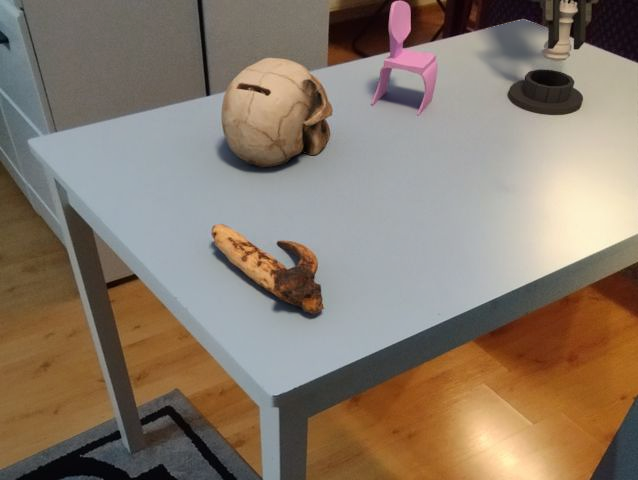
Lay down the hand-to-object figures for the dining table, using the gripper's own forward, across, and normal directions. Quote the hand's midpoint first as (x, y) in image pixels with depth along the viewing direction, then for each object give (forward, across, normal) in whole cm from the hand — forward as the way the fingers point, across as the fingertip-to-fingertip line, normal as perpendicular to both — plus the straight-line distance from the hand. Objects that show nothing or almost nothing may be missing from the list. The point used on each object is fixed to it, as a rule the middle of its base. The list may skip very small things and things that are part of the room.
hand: (566, 44), depth 104 cm
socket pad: (+4, 0, -10) cm, 11 cm away
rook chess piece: (0, 0, -5) cm, 5 cm away
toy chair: (+7, +24, -8) cm, 26 cm away
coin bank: (+18, +43, +3) cm, 47 cm away
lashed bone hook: (+40, +42, +25) cm, 63 cm away
